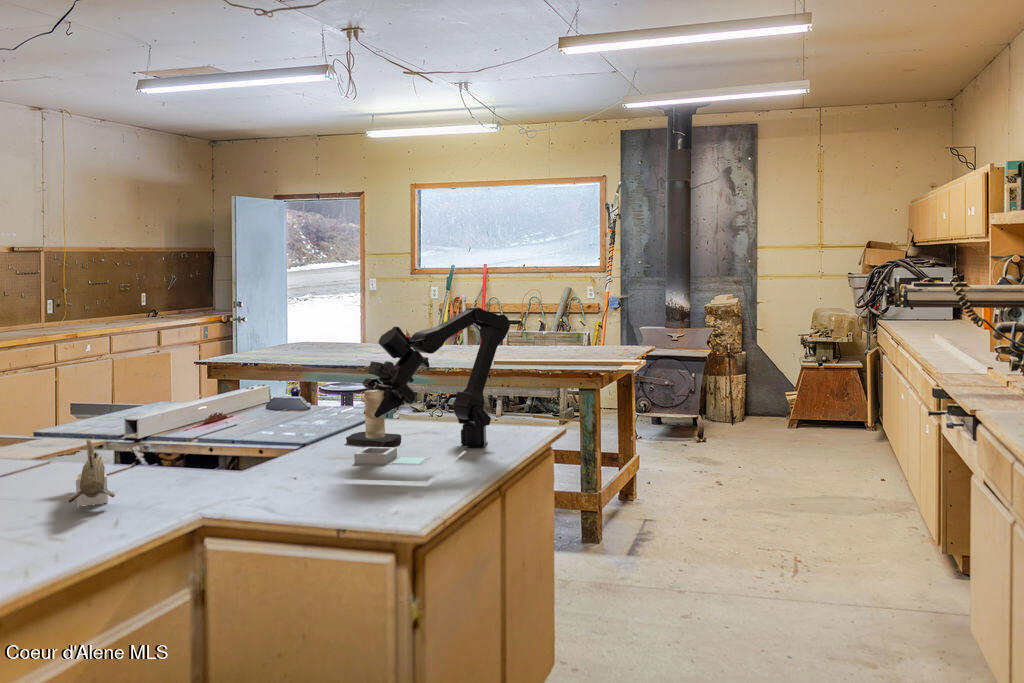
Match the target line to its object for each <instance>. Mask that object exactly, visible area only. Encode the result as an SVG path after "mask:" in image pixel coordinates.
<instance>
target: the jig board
mask: <svg viewBox="0 0 1024 683" xmlns="http://www.w3.org/2000/svg"><path fill="white" fill-rule="evenodd" d="M353 458H354V463H353V464H354V465H391V466H393V465H395V466H422V465H423V464H425V463H426V462H427V461H428V460H430V459H431V456H398V447H395V446H393V447H371V446H364V448H362V449H360V450H357V452H356V451H355V453H354V454H353Z"/></svg>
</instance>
